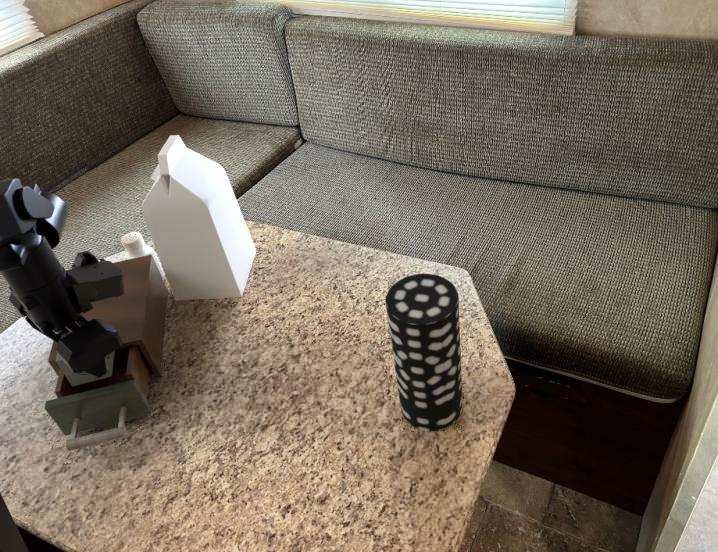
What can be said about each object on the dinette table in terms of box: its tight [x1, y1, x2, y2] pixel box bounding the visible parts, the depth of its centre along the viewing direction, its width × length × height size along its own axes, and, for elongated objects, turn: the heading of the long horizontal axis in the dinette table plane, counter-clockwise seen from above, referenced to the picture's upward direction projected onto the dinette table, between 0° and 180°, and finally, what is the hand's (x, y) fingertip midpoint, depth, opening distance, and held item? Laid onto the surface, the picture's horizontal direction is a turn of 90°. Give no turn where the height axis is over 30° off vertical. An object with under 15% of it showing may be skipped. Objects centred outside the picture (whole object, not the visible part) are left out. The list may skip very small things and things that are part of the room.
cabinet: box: [47, 255, 169, 380], centre depth 94 cm, size 20×13×8 cm, turn 14°
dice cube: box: [56, 332, 115, 386], centre depth 80 cm, size 5×5×5 cm
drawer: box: [43, 345, 153, 452], centre depth 86 cm, size 23×11×6 cm, turn 14°
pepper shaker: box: [120, 231, 166, 279], centre depth 104 cm, size 4×4×10 cm
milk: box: [141, 134, 257, 301], centre depth 98 cm, size 12×12×26 cm
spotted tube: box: [385, 273, 464, 432], centre depth 75 cm, size 8×8×20 cm
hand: (90, 362), depth 81 cm, fingers closed on dice cube, 6 cm apart
